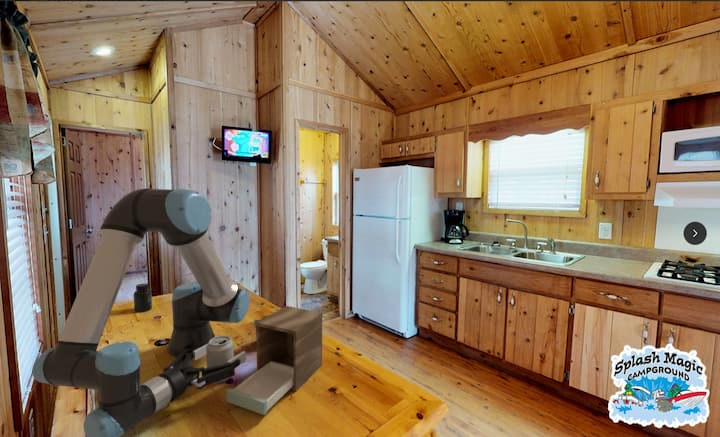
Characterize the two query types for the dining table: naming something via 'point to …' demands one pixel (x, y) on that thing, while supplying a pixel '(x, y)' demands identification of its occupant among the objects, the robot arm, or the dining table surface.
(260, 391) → the tray
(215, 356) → the can
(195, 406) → the dining table surface
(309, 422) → the dining table surface
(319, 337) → the housing
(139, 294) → the supplement bottle
